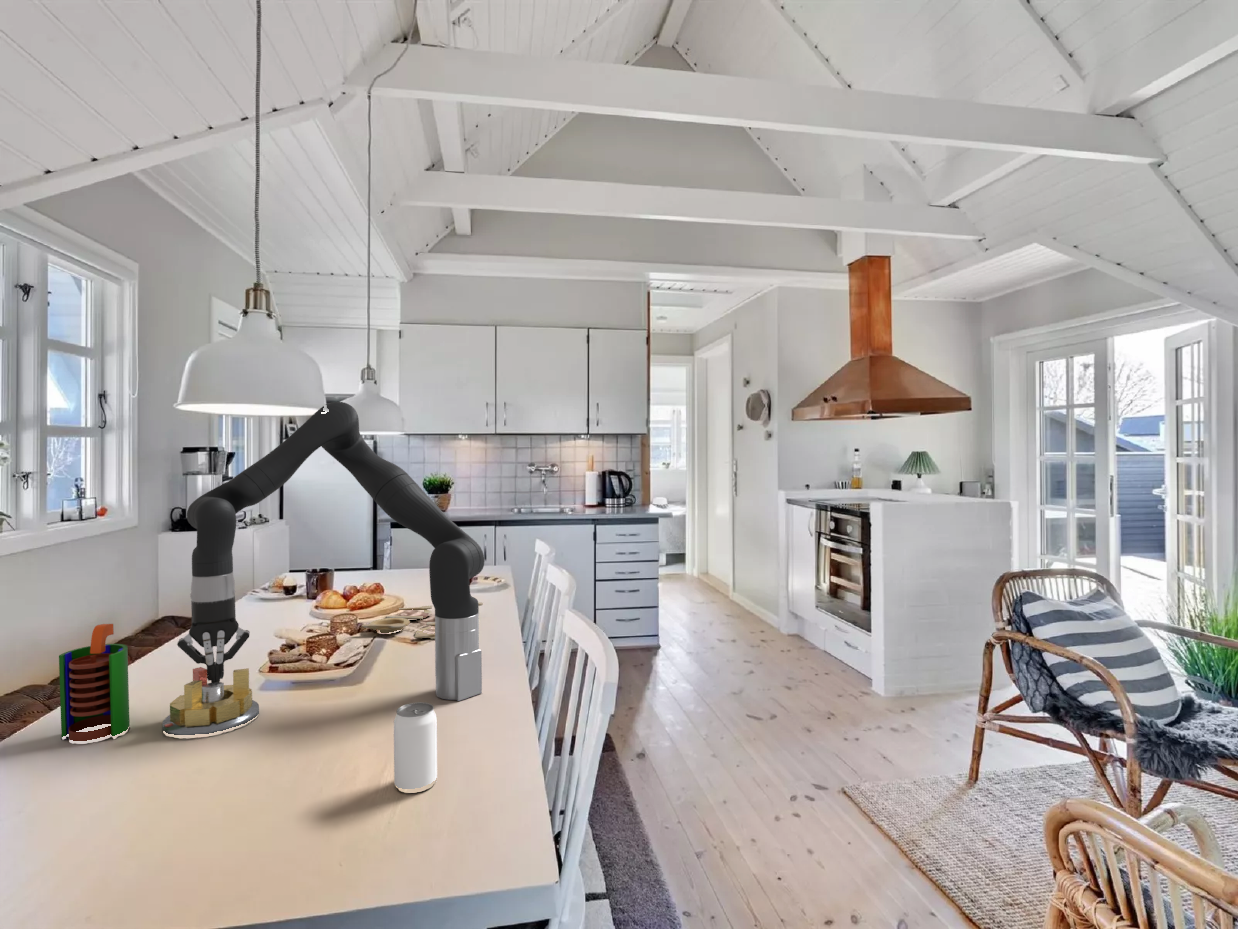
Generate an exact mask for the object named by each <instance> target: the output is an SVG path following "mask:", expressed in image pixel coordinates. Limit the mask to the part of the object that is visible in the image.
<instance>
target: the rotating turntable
mask: <svg viewBox="0 0 1238 929" xmlns="http://www.w3.org/2000/svg"><path fill="white" fill-rule="evenodd" d="M224 685H225V684H224V682H222V681H220V682H213V683H211V682H207V684H204V685H202V704H206V703H214V702H218V701H221V700H224ZM258 714H259V715H260V705H259V703H258V702H257V701H256V700H253V699H252V706H251V708H250V709H249V710H248V711H247V712H246V713H245V714H240V716H239V717H236V718H232V719H229V720H226V721H223V722H220V723H215V722H212V723H211V724H210V725H201V726H187V727H185V725H182V726H179V725H177V724H175V723H173V722H171V721H170V714H169V715H167V716H166V717H165V718H164V719H163V721H162V732H163V731H165V732H166V733H168V734H174V735H195V734H209V733H214V732H217V731H223V730H226V729H229V728H232V727H236V726H239V725H241V724H245V723H247V722H248V721H250V720H252V719H253V718H255V717H256V716H257V715H258Z"/></svg>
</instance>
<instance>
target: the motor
mask: <svg viewBox="0 0 1238 929" xmlns="http://www.w3.org/2000/svg"><path fill="white" fill-rule="evenodd" d="M114 634H115V632H114V623H102V624H97V625H95V626H94V628H93V629H92V634H91V639H90V646H89V645H88V646H84V647H78V648H75V649H72V650H67V651H65V652H63V653H61V654H59V655H58V666H59V667H58V669H59V672H58V673H59V676H58V677H59V700H60V701H59V702H60V730H61V734H60V735H61V737H63V736H66V735H67V734H69V738H68V740H69V739H70V740H73V741H87V740H92V739H97V738H100V737H105V736H107V735H110V734H111V735H112V736H115V735H117V734H120V733H122V732H123V731H126V730H127V729H128V727H129V726H131V725H130V723H131V722H130V694H129V692H130V691H129V688H130V687H129V661H128V660H129V656H128V652H129V651H128V645H126V644H124V643H106V641H107V637H108V636H111V635H112V636H113V635H114ZM102 724H111V726H108V727H105V728H102V729H98V730H94V731H88V732H76V731H79V730H82V729H84V728H87V727H94V726H97V725H102Z"/></svg>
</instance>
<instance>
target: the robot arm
mask: <svg viewBox="0 0 1238 929" xmlns="http://www.w3.org/2000/svg"><path fill="white" fill-rule="evenodd" d="M325 405H327V408H328V409H329V412H327V413H326V414H321V412H325V411H323V408H324V405H322V407H320V408H319V409H318V410H316V412H314V413H313V414H312V415H311V416H310V417H309V418H308V419H307V420H306V421H305V422H304V423H303V424H302V425H300V426H299V427H298V428H297V429H296V430H295V431H293V433H291V434H290V435H289V436H288V437H286V439H285V440H284V441H282V442H281V443H280V444H279V445H278V446H276V447H275V448H273V449H272V450H271V451H270V452H269V453H267V454H266V455H265V456H263V457H262V458H260V459H259V460H258V461H256V462H254V463H252V464H251V465H250V466H248V467H247V468H246V469H244V470H243V471H241V472H239V473H238V474H237V475H236V476H234V477H233V478H231V479H230V480H228V481H226V482H224V483H222V484H220V485H218V486H217V487H214V488H213V489H211V490H208V491H207V492H205V493H203V494H201V495H200V496H199V497H197V498H196V499H195V500H193V501H192V503H191V504H190V505H189V507H188V509H187V511H186V520H187V522H188V524H190V526H191V527H192V528H193V529H196V547H194V549H193V550H192V554H191V585H190V594H189V595H190V599H191V600H190V602H191V604H190V605H191V626H190V628H189V631H188V634H186V635H185V636H184V637H181V638H179V639H178V641H177V644H176V645H177V646H178V648H179V649H181V650H182V652H184V653H185V654H186V655H187V656H188V657H189V658H190V659H191V660H192V661H194V662H195V663H196V664H198V665H200V664H204V665H206V669H207V682H209V681H210V683H213V682H221V679H222V680H223V678H224V676H225V664H224V663H225V662H227V661H229V660H231V659H233V658H234V657H235V656H236V655H237V653H238V652H239V650H240V649H241V648H242V647H243V645H244V644H245V643H246V642H247V640H248V639H249V638H250V630H248V629H246V630H245V629H243V628H242V627H239V622H238V621H237V618H236V616H237V615H236V586H235V585H236V584H235V577H234V561H233V560H234V559H233V558H234V557H233V547H234V543H235V536H236V531H237V515H236V514H237V513H239V512H241V511H242V510H243V509H245V508H248V507H252V506H255V505H257V504H259V503H260V502H262V501H263V500H265V499H267V498H268V497H269V496H271V494H274V493H275V492H276V491H277V490H278V489H280V488H281V487H283V486H284V485H285V484H286V483H287V482H288V481H289V480H290V479H291V478H292V477H293V476H294V474H295V473H296V472H297V471H298V470H299V468H300V467H301V466H302V465H303V464H304V463H305V461H307V459H308V458H309V457H310V456H312V454H313V453H315V452H316V451H317V450H319V449H320V448H322V449H323V450H325V452H327V454H329V455H330V456H331V457H333V459H335V460H336V461H337V462H338V463H339V464H340V465H342V466H343V467H344V468H345V469H346V470H347V471H348V472H349V473H350V474H351V475H352V476H353V477H354V479H355V480H356V481H357V482H358V484H359V485H360V486H361V487H362V488H363V489H364V491H366V492H367V493H368V495H369V496H370V498H372V499H373V501H374V503H376V504H377V506H379V508H380V509H381V510H382V511H383V512H384V513H385V514H386V515H387V516H388V517H390V518H391V519H392V520H393V521H394V522H396V523H398V524H399V525H402V526H403V527H405V528H406V529H408V530H410V531H411V532H414V533H415V534H417V535H418V536H420V537H422V538H424V540H426V541H427V542H428V543H429V544H430V545H431V546H432V547H433V548H434V549H433V550H432V551H431V552H432V553H431V554H430V557H429V565H428V572H429V575H428V576H429V589H430V590H429V591H430V600H431V602H432V603H431V604H432V607H433V608H434V622H435V639H434V648H435V649H434V653H435V655H434V656H435V658H434V659H435V660H434V661H435V662H434V663H435V669H434V670H435V671H434V672H435V695H436V697H437V698H439V699H442V700H451V701H457V702H459V701H464V700H466V699H468V698H471V697H474V696H477V695H480V694H482V690H483V686H482V685H483V682H482V681H483V680H482V679H483V678H482V677H483V676H482V675H483V672H482V667H483V666H482V665H483V664H482V659H483V658H482V656H483V655H482V650H481V649H480V643H479V642H480V635H479V634H480V630H479V629H480V628H479V625H480V624H479V623H480V622H479V619H480V616H479V614H480V613H479V611H480V608H479V607H480V606H479V604H478V603H479V601H478V599H477V598H476V597H473V596H472V594H471V588H470V584H471V583H470V579H472V578H474V577H476V576H478V575H479V574H481V572H482V571H483V570H484V566H485V555H484V552H483V550H482V547H481V546H480V545H479V544H478V542H477V541H476V540H474V538H472V537H471V536H470V535H469V534H468V533H466V532H465V531H464V530H463V529H461V527H459V526H458V525H457V524H456V523H455V522H453V520H451V518H449V517H448V516H447V515H446V514H445V513H444V512H443V511H442V510H441V508H440V507H439V506H438V505H437V504H436V502H434V500H432V499H431V498H430V497H429V495H427V493H426V492H424V490H423V489H422V488H421V487H420V485H419V484H418V483H416V481H415V480H414V479H413V478H412V477H411V476H410V475H409V474H408V473H407V472H406V471H405V469H403V468H401V467H400V466H398V465H396V464H395V463H393V462H391V461H388V460H386V459H385V458H382V457H381V456H379V455H378V454H377V453H376V452H375V451H374V450H373V449H372V448H371V447H370V446H369V444H368V443H367V442H366V441H365V438H363V437H362V434H361V433H360V419H359V416H358V412H357V411H356V409H355V408H354V407H353V406H352V405H351V404H349V403H346V402H343V401H332V402H329V403H327V404H325ZM235 633H236V635H235ZM234 635H235V639H236V641H235V642H234V643H233V644H232V646H230V648H229V649H228V650H227V651H226V652H225V647H226V645H227V644H229V642H230V640H231V639H232V638H233V637H234ZM193 640H194V641H195V642H196V643H197V644H198V645H199V646H200V647H202V648H203V650H204V651H203V652H204V654H203V653H202V652H200V651H199V650H198V649H197V648H196V647H195V646H194V645H193V643H194V641H193ZM214 647H216V657H215V655H214V654H215V653H214ZM215 658H216V659H215Z"/></svg>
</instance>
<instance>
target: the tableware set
mask: <svg viewBox="0 0 1238 929" xmlns="http://www.w3.org/2000/svg"><path fill="white" fill-rule="evenodd" d="M478 604H479V607H480V606H483V605H484V602H478ZM398 608H399V610H412V609H413V610H424V612H425V613H432V611H431V609H433V605H425V606H424V605H423V606H417V607H416V606H415V607H414V606H413V607H398ZM408 619H420V621H422V620H424V619H423V616H387V615H386V616H385V617H384V618H381V619H376V620H373V621H370V622H369V623H365V624H362V625H361V628H362V627H364V628H363V629H370V630H372V629H373V631H375V630H376V629H378V630H380V632H381V633H389V632H394V631H397V630H401V629H402V628H403V629H404V628H405V627H407V626H408V625H410V622H411V621H409V620H408ZM421 619H422V620H421ZM425 624H426V626H425V627H422V628H420V629H418V630H422V631H418V630H416V631H417V632H416V631H415V634H414V637H413V638H414V639H422V638H431V639H430V640H435V633H434V634H427V633H423V631H424V630H427V629H429V628H431V627H429V626H435V621H432V622H431V621H428V622H426V623H425ZM403 629H402V630H403ZM416 633H420V634H416Z"/></svg>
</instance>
